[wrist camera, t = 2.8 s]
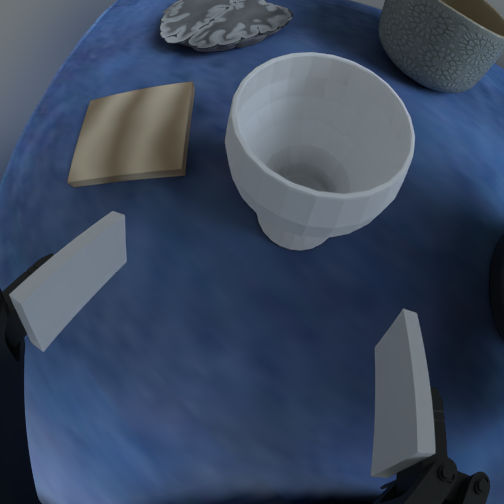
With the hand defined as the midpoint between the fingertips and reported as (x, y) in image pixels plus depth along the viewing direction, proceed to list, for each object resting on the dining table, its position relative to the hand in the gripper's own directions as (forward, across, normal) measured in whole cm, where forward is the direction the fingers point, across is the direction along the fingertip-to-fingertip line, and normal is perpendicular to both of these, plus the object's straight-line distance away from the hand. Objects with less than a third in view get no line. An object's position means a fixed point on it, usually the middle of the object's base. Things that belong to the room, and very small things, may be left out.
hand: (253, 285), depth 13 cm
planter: (+37, +13, +18) cm, 43 cm away
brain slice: (+34, -17, +14) cm, 41 cm away
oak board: (+18, -20, -1) cm, 27 cm away
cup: (+16, +1, -4) cm, 17 cm away
